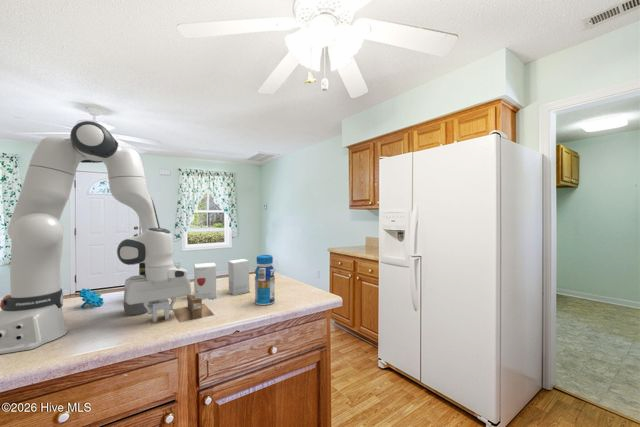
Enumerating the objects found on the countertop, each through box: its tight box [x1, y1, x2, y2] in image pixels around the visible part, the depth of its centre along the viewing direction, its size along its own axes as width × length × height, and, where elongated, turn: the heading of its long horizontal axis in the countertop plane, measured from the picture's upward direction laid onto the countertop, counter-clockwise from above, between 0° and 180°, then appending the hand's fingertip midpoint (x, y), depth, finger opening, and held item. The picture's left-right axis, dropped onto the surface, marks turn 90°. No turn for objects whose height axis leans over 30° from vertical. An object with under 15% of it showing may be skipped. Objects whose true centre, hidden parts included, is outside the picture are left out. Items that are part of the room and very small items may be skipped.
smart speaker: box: [123, 274, 152, 316], centre depth 110 cm, size 10×9×14 cm
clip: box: [151, 299, 170, 323], centre depth 102 cm, size 5×4×6 cm
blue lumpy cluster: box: [78, 288, 105, 308], centre depth 119 cm, size 11×6×10 cm
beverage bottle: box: [254, 254, 276, 306], centre depth 122 cm, size 8×8×20 cm
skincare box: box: [227, 258, 251, 296], centre depth 137 cm, size 8×7×16 cm
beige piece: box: [148, 294, 215, 326], centre depth 107 cm, size 20×16×8 cm
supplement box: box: [193, 262, 217, 300], centre depth 130 cm, size 9×9×15 cm
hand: (160, 311), depth 102 cm, fingers closed on clip, 5 cm apart
